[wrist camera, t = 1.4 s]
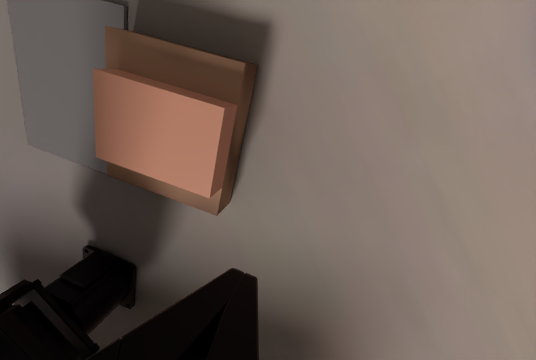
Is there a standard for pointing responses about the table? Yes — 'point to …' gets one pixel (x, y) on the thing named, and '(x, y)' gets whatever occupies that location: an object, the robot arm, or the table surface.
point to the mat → (62, 71)
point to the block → (162, 130)
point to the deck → (189, 78)
